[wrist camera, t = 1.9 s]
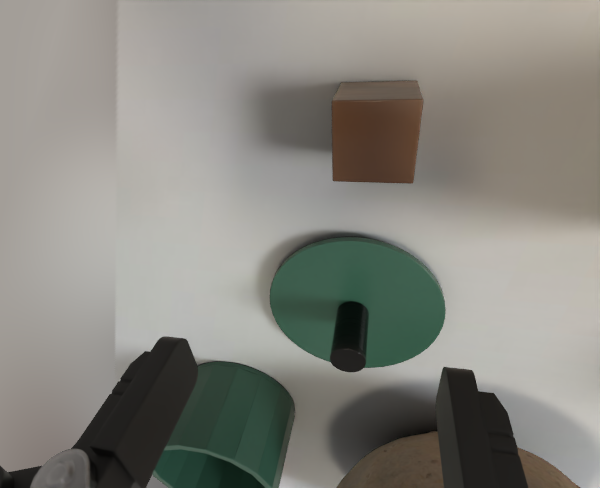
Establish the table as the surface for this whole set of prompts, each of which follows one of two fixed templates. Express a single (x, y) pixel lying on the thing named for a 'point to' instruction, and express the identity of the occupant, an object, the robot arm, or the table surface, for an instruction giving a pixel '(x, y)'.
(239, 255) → the table surface
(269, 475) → the tin
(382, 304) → the tin lid
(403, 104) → the block
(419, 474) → the bowl
